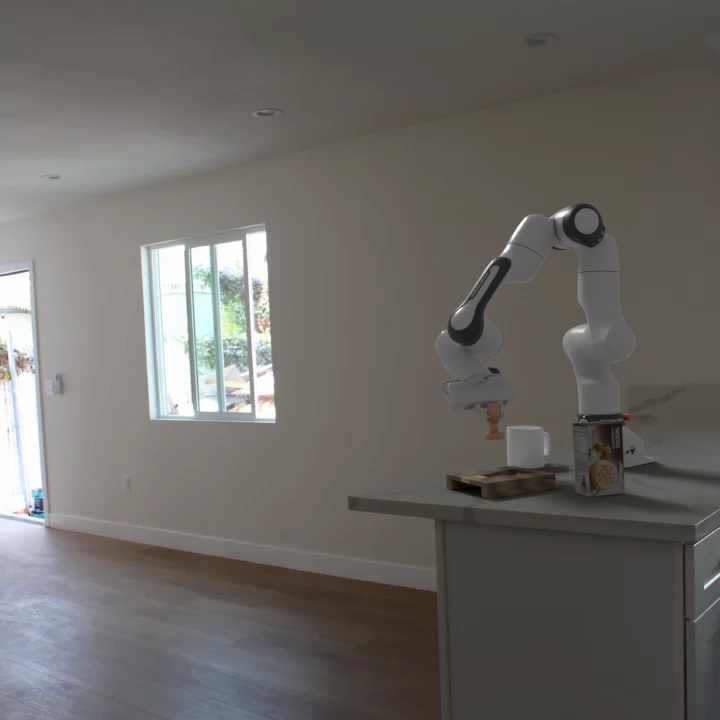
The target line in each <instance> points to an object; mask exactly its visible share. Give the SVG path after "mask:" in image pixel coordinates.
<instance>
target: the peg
mask: <svg viewBox="0 0 720 720" xmlns="http://www.w3.org/2000/svg"><path fill="white" fill-rule="evenodd" d="M487 411H488V412H489V414H490V415H491V418H490V420H487V421H486V422H488V423H489V424H488V425H489V431H485V432H484V433H483V434H484V435H483V436H484V440H489V441H492V440H493V441H495V440H496V441H497V440H504V439H505V432H504V431H499V422H500V421H501V419H500V412H499V403H487V408H486V412H487Z"/></svg>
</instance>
